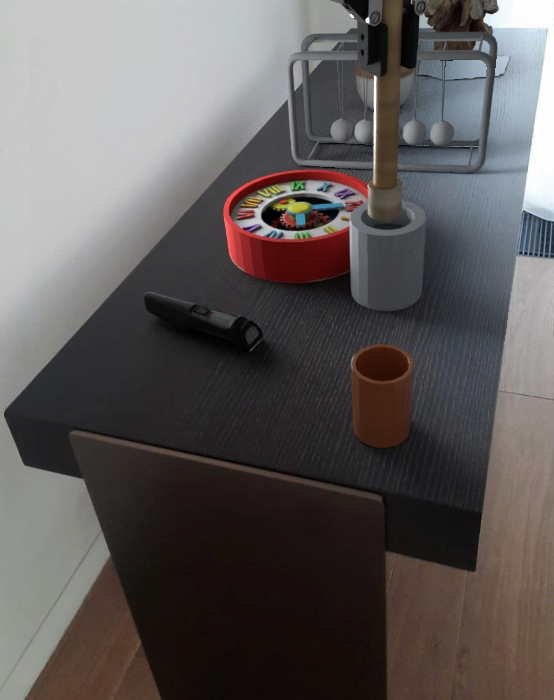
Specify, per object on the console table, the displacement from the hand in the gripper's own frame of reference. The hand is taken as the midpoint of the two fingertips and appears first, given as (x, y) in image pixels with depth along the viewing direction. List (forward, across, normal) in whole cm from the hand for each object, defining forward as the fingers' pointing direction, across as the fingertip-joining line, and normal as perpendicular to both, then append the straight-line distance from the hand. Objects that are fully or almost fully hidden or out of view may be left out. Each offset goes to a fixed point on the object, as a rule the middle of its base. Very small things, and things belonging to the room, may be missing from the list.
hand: (387, 66), depth 58 cm
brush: (+14, 0, 0) cm, 14 cm away
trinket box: (+30, +40, +59) cm, 77 cm away
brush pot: (+29, -7, -11) cm, 32 cm away
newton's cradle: (+30, +28, +40) cm, 57 cm away
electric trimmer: (+30, -16, +13) cm, 36 cm away
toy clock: (+30, +3, +24) cm, 38 cm away
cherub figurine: (+30, +65, +67) cm, 98 cm away
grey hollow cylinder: (+29, +6, +8) cm, 31 cm away
